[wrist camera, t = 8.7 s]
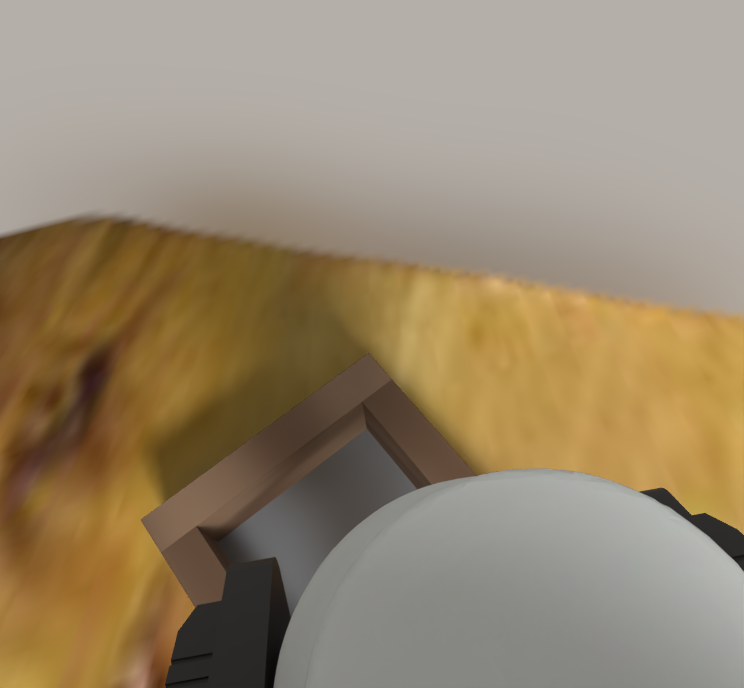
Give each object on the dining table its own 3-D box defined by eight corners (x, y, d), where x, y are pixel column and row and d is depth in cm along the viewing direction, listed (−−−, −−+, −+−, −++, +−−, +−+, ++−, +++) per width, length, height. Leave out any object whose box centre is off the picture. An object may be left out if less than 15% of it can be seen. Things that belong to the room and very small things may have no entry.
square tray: (323, 775, 23) (309, 790, 20) (172, 539, 27) (140, 519, 24) (539, 582, 26) (557, 567, 23) (373, 389, 30) (368, 352, 26)
